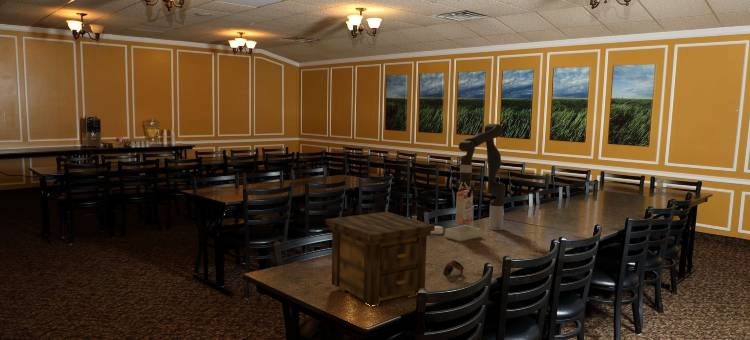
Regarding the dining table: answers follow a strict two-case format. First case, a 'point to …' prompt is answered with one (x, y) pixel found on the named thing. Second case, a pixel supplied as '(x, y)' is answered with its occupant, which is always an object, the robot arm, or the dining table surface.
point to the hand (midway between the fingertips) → (464, 196)
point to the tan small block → (437, 230)
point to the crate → (378, 255)
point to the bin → (463, 233)
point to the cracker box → (463, 207)
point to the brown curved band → (452, 265)
